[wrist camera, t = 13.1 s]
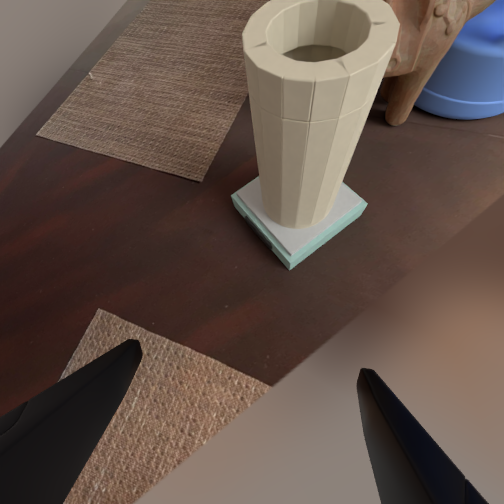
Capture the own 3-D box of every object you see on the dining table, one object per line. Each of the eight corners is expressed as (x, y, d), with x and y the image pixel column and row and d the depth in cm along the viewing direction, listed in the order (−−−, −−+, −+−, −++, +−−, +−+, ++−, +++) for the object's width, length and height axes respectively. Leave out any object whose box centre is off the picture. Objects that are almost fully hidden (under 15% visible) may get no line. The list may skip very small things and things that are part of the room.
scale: (287, 272, 24) (288, 263, 22) (232, 208, 28) (227, 193, 25) (360, 215, 26) (370, 200, 23) (299, 161, 29) (301, 142, 26)
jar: (339, 224, 22) (421, 63, 9) (266, 233, 23) (247, 92, 10) (325, 165, 25) (375, -27, 12) (259, 174, 25) (238, 0, 12)
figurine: (281, 104, 33) (282, -70, 19) (415, 90, 31) (526, -114, 17) (284, 145, 30) (288, -21, 16) (430, 132, 28) (575, -67, 14)
